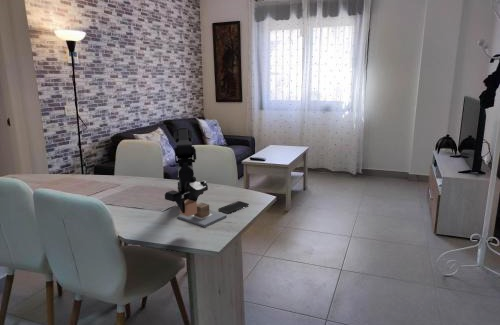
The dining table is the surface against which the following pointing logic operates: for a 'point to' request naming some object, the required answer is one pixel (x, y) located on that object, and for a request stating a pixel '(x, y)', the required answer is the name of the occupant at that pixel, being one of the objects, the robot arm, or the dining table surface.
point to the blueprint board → (204, 218)
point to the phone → (233, 207)
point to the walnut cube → (202, 210)
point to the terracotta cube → (189, 208)
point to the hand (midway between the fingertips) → (188, 211)
